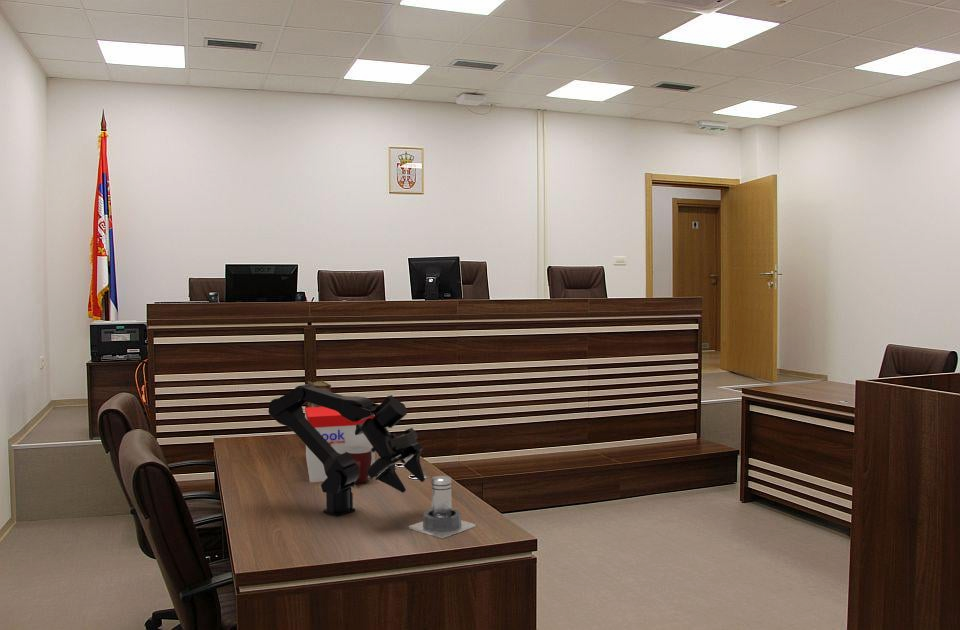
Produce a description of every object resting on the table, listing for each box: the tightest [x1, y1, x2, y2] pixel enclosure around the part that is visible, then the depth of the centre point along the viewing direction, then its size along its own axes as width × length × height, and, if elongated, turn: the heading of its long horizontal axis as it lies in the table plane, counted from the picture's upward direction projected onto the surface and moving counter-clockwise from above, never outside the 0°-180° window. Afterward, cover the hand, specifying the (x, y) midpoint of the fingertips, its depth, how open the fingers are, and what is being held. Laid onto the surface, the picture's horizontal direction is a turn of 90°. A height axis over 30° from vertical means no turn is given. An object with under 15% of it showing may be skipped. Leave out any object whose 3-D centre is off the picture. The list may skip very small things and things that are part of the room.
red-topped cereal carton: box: [304, 406, 376, 483], centre depth 255 cm, size 21×35×21 cm, turn 15°
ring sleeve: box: [408, 507, 476, 539], centre depth 191 cm, size 12×12×4 cm
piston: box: [431, 475, 452, 518], centre depth 191 cm, size 5×5×12 cm
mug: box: [346, 448, 372, 485], centre depth 234 cm, size 11×8×10 cm
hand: (414, 486), depth 195 cm, fingers open, 9 cm apart
